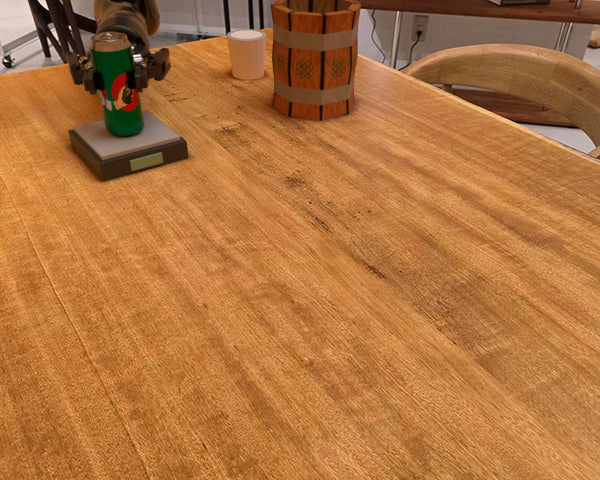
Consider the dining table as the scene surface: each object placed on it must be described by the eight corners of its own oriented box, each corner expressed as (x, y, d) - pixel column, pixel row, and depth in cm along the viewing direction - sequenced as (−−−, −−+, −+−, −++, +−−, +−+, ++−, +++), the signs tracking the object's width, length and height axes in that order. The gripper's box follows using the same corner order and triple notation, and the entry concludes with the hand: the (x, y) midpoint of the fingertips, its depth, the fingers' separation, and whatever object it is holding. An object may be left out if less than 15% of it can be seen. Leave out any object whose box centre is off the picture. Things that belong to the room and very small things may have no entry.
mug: (364, 119, 91) (372, 14, 82) (277, 123, 90) (276, 17, 80) (338, 76, 106) (344, -17, 97) (264, 78, 105) (261, -15, 95)
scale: (104, 183, 75) (99, 160, 73) (72, 148, 82) (66, 126, 80) (189, 159, 80) (187, 137, 78) (152, 128, 88) (148, 107, 86)
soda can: (151, 124, 81) (136, 32, 73) (136, 140, 77) (119, 44, 69) (116, 121, 82) (98, 29, 74) (100, 136, 78) (79, 41, 70)
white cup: (233, 67, 109) (231, 27, 104) (270, 69, 108) (269, 29, 104) (225, 80, 104) (222, 38, 99) (263, 82, 103) (262, 40, 99)
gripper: (64, 18, 82) (46, 57, 69) (169, 14, 84) (170, 51, 71) (76, 72, 87) (62, 118, 74) (175, 68, 89) (177, 112, 76)
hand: (115, 85), depth 73 cm, fingers closed on soda can, 5 cm apart
